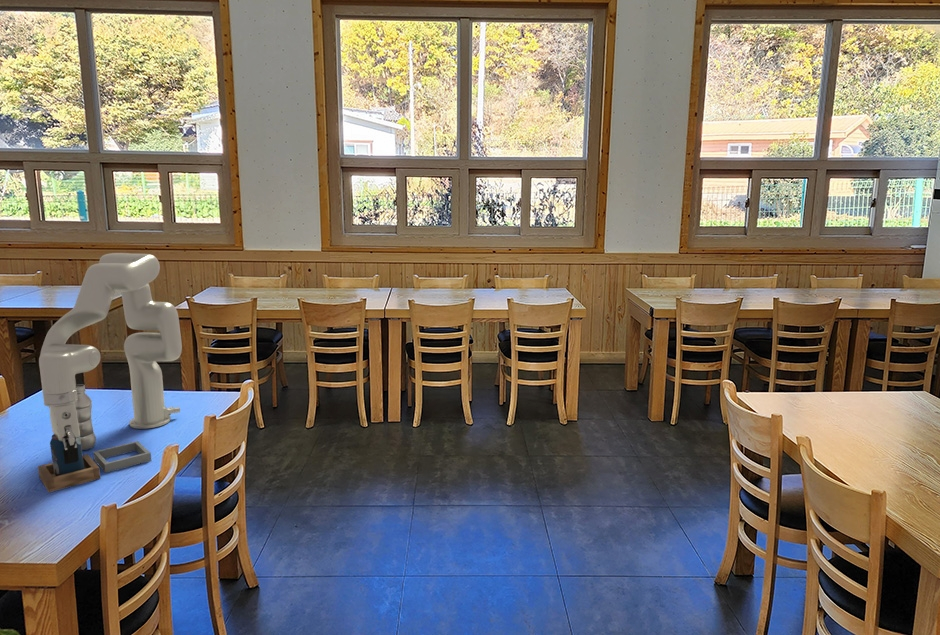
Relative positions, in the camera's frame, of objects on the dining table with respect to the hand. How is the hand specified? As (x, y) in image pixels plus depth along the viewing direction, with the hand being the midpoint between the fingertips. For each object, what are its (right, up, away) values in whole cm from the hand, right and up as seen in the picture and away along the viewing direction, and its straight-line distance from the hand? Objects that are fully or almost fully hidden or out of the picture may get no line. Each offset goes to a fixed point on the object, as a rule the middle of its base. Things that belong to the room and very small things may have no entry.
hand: (67, 456), depth 166 cm
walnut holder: (0, -6, +1) cm, 6 cm away
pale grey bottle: (-8, -2, +21) cm, 22 cm away
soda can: (0, -5, +1) cm, 6 cm away
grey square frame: (+8, -4, +13) cm, 16 cm away
